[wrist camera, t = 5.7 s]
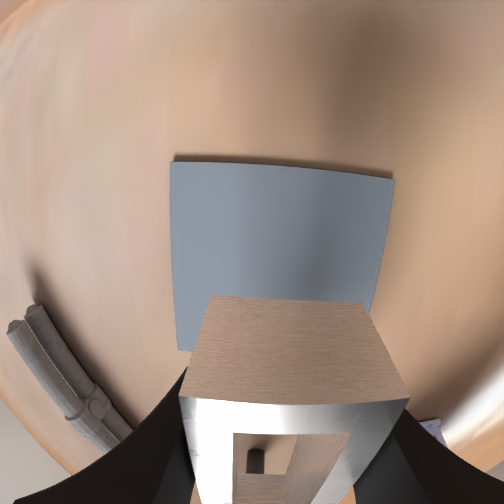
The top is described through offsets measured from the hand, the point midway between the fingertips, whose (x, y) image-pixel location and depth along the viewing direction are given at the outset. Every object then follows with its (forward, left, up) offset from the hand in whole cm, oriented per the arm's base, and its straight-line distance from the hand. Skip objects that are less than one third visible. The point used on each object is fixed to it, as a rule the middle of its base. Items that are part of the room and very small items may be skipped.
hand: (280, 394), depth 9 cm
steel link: (0, +3, -1) cm, 3 cm away
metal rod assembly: (+13, +16, -10) cm, 23 cm away
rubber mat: (0, 0, -9) cm, 9 cm away
